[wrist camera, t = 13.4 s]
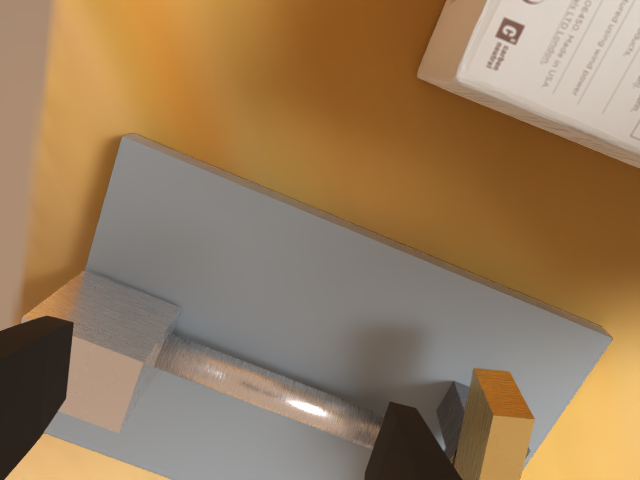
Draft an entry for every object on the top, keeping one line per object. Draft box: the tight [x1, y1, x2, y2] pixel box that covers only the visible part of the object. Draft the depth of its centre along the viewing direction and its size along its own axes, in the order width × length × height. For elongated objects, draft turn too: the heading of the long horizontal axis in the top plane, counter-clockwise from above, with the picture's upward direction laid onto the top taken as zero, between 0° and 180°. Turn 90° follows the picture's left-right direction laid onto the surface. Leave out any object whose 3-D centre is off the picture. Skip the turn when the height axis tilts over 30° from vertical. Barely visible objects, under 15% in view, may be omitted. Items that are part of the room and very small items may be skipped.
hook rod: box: [21, 270, 385, 450], centre depth 19 cm, size 14×3×4 cm, turn 68°
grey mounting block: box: [436, 381, 531, 466], centre depth 20 cm, size 2×6×3 cm, turn 158°
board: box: [44, 133, 613, 480], centre depth 22 cm, size 20×14×1 cm
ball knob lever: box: [454, 368, 535, 480], centre depth 17 cm, size 2×6×2 cm, turn 176°
